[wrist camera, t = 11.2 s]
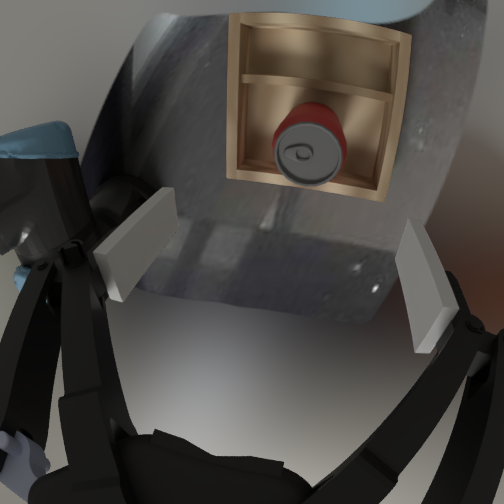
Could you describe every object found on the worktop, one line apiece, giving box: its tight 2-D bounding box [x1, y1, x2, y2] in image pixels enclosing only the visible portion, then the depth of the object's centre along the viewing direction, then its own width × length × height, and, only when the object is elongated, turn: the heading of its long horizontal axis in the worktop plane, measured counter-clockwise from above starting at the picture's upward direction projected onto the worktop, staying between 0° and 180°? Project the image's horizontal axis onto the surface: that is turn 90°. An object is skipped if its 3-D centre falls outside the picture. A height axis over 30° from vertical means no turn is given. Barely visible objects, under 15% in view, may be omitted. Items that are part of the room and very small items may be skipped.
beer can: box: [272, 102, 347, 187], centre depth 27 cm, size 7×7×12 cm
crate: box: [227, 13, 412, 202], centre depth 28 cm, size 18×19×5 cm
